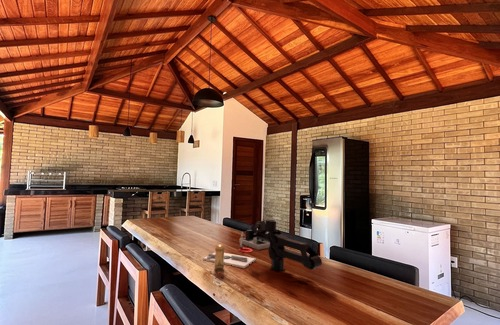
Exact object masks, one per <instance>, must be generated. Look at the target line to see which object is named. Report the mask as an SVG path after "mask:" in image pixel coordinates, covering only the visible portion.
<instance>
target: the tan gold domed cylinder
mask: <svg viewBox="0 0 500 325" xmlns="http://www.w3.org/2000/svg"><path fill="white" fill-rule="evenodd" d="M214 247H215V249H214V250H215V251H214V253H215V262H214V270H215V271H217V272H218V271H219V272H221V271H223V270H224V268H225V264H224V253H225V249H226V248H225V244H216V245H215V246H214Z"/></svg>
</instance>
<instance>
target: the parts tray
mask: <svg viewBox="0 0 500 325" xmlns="http://www.w3.org/2000/svg"><path fill="white" fill-rule="evenodd" d="M240 243H241V238H239V240H238V244H240ZM242 243H243V244H242V246H247V247H248V248H249V247H250V248H251V249H255V250H258V251H260V250H263V249H264V250H265V249H269V246H270V243H268V242H263V241H259V240H257V243H256V244H254V243H253V240H252V241H246V237H243V239H242Z"/></svg>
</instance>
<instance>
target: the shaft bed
mask: <svg viewBox="0 0 500 325" xmlns="http://www.w3.org/2000/svg"><path fill="white" fill-rule="evenodd" d="M202 260H203V261H206V262H211V263H215V252H213V253H208V255H206V256H205V257H203V258H202ZM256 260H257V259H256V257H250V256H249V257H248V256H246V255H245V256H243V255H238V254H234V253H233V254H232V253H226V252H224V265H226V266H231V265H232V266H233V267H236V268H240V269H246V268H247V267H248V266H250V265H251V264H252V262H253V263H254V262H255V261H256ZM249 264H250V265H249Z"/></svg>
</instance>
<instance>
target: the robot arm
mask: <svg viewBox="0 0 500 325" xmlns="http://www.w3.org/2000/svg"><path fill="white" fill-rule="evenodd" d="M254 225H255V227H254V228H255V229H247V230H246V231H243V234H244V235H245V238H246V241H252V240H253V239H254V238H256V237H257V240H261V241H266V242H269V243H270V246H269V248H267V249H268V250H267V251H268V257H269V259H270V261H271V265H270V266H271V267H269V269H270V270H272V271H274V270H275V271H274V272H277V271H279V272H282V270H283V271H285V270H286V268H284V262H285V259H288V260H291V261H294V262H297V263H300V264H302V266H303V267H305V268H306V269H308V270H310V271H311V270H315V269H318V268H320V267H321V266H322V265H323V261H322V258H321V256H320V255H319V254H318V253H317V252H316V251H315V250H314V249H313V248H312V247H311V246H310V244H309V243H307V242H303V241H299V240H295V239H291V238H288V237H287V236H286V235H284V234H282V232H281V230H279V229H277V221H276V220H275V219H271V218H269V219H268V218H267V219H265V220H260V221H259V220H258V221H256V222H255V224H254ZM288 248H290V249H288ZM291 249H292V250H291ZM294 250H296V251H294ZM297 251H299V252H297Z"/></svg>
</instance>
